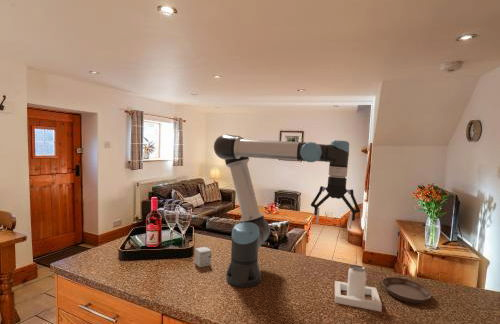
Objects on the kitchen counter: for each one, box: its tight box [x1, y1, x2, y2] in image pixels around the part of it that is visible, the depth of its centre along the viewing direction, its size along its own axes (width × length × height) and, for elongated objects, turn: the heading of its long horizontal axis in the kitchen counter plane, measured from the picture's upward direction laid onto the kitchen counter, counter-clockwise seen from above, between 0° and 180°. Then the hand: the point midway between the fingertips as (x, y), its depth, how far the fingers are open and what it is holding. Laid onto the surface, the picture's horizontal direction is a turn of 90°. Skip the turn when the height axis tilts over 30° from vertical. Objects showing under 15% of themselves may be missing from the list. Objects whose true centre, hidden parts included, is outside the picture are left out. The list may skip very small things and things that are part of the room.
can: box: [346, 264, 367, 299], centre depth 106 cm, size 6×6×12 cm
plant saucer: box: [381, 276, 432, 304], centre depth 112 cm, size 18×18×3 cm
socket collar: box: [334, 280, 383, 313], centre depth 106 cm, size 16×13×2 cm
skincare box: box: [194, 246, 212, 268], centre depth 131 cm, size 6×6×7 cm
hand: (333, 225), depth 117 cm, fingers open, 13 cm apart
